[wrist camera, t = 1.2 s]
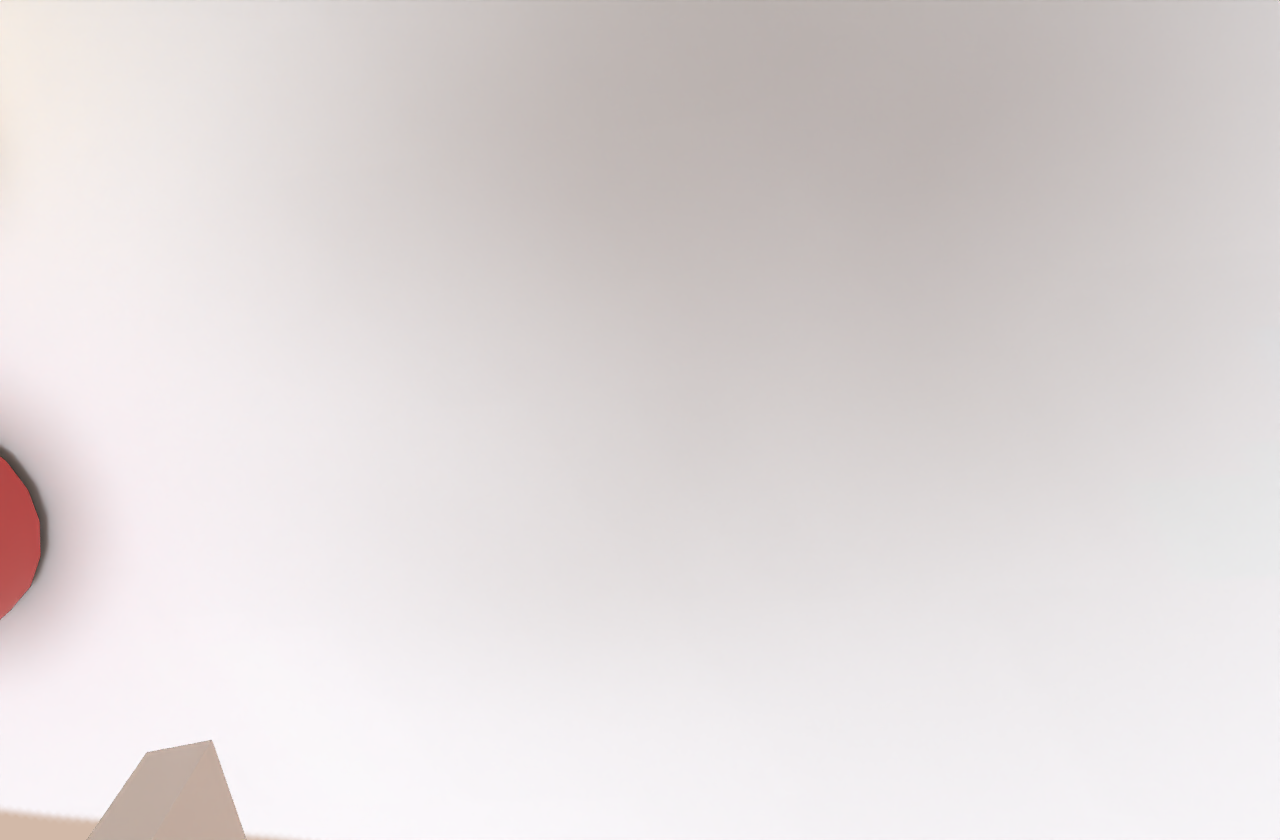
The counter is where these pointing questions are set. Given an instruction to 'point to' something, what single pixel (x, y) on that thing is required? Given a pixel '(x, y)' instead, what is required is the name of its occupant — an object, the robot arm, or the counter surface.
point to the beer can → (16, 538)
